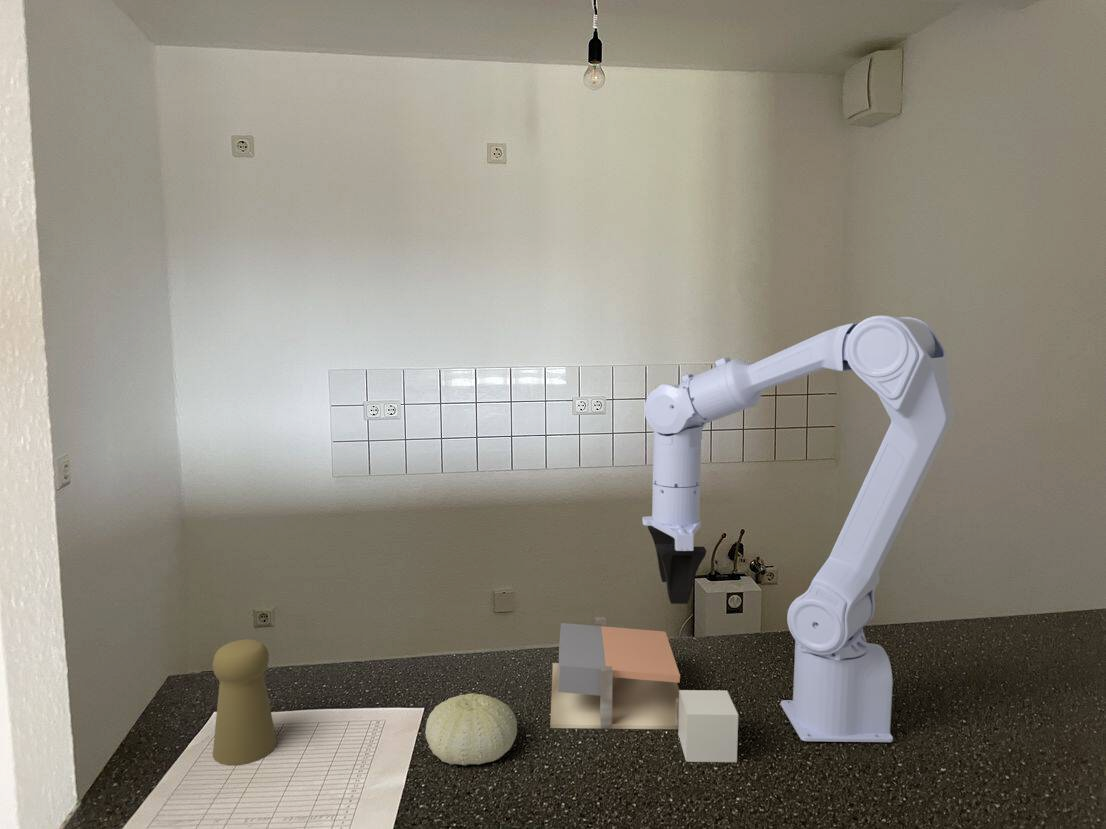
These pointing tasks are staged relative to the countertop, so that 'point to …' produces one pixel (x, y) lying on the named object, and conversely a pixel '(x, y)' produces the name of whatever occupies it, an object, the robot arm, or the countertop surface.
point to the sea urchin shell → (471, 729)
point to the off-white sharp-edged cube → (708, 726)
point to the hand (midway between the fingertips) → (674, 591)
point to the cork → (242, 704)
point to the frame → (616, 703)
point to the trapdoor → (612, 656)
